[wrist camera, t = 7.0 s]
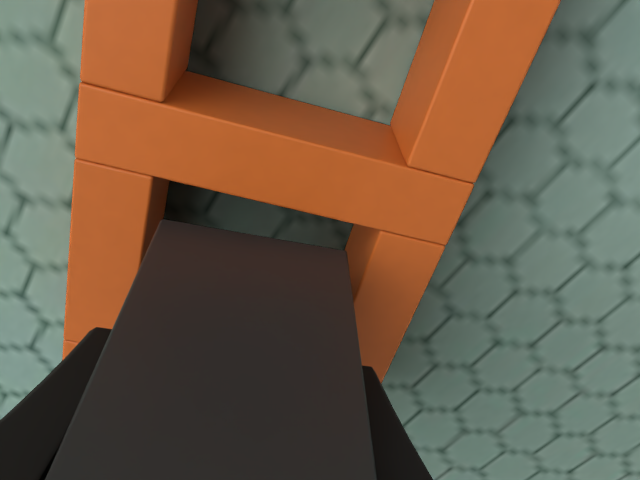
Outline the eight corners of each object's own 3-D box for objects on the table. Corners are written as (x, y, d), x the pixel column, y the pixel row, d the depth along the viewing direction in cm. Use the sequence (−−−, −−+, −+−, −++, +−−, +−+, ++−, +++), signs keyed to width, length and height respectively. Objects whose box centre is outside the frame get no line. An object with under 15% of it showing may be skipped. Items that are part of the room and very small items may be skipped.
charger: (347, 249, 12) (395, 601, 6) (309, 380, 14) (315, 744, 8) (160, 217, 11) (3, 568, 5) (148, 358, 13) (24, 730, 7)
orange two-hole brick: (153, -334, 9) (107, -408, 7) (579, -170, 11) (652, -189, 9) (91, 321, 17) (59, 385, 14) (350, 370, 18) (357, 436, 16)
